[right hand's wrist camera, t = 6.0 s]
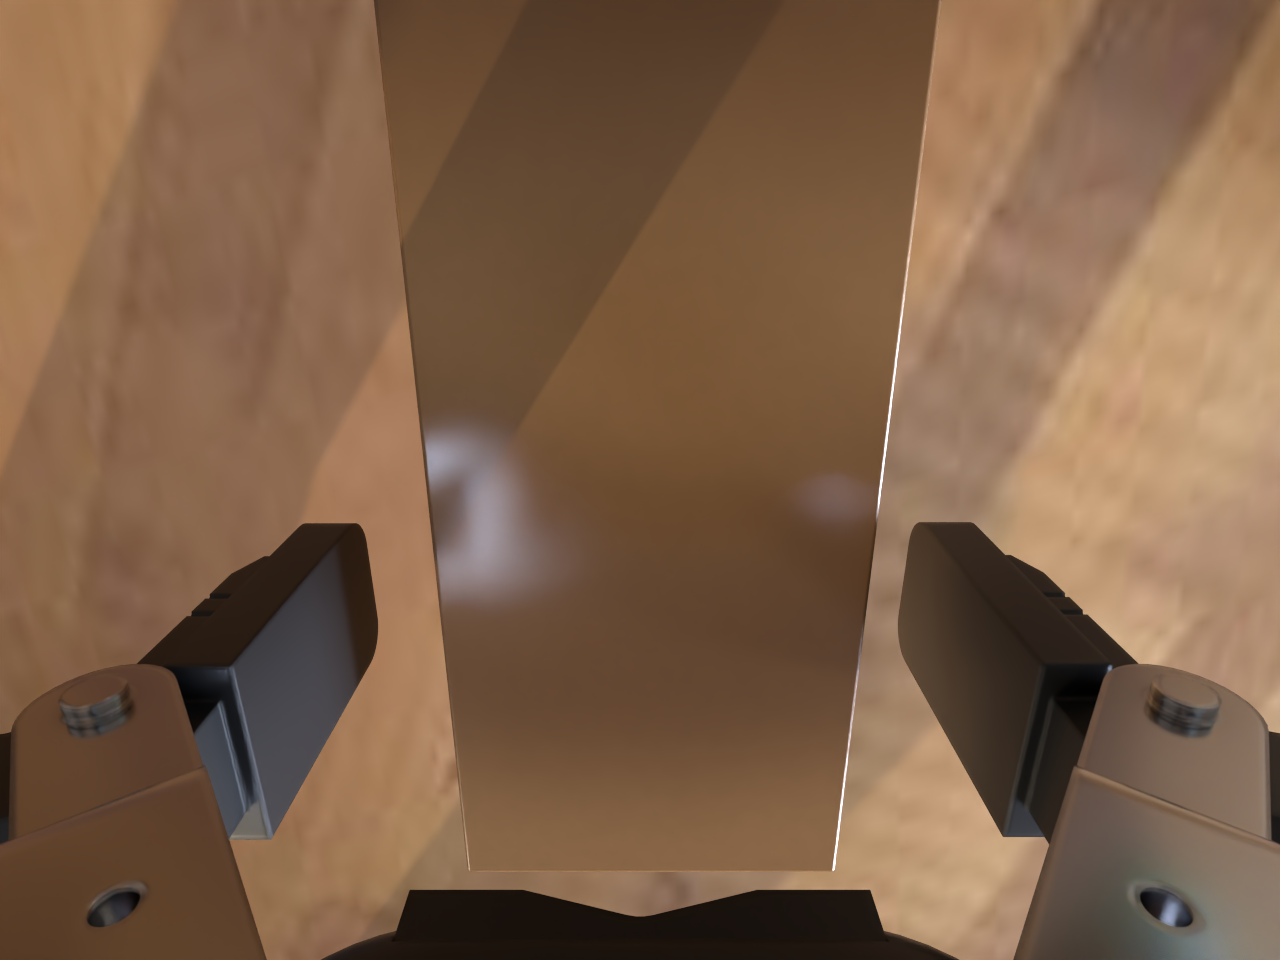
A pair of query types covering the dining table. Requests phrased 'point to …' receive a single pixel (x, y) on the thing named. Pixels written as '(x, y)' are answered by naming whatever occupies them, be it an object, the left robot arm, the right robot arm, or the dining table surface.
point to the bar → (654, 404)
